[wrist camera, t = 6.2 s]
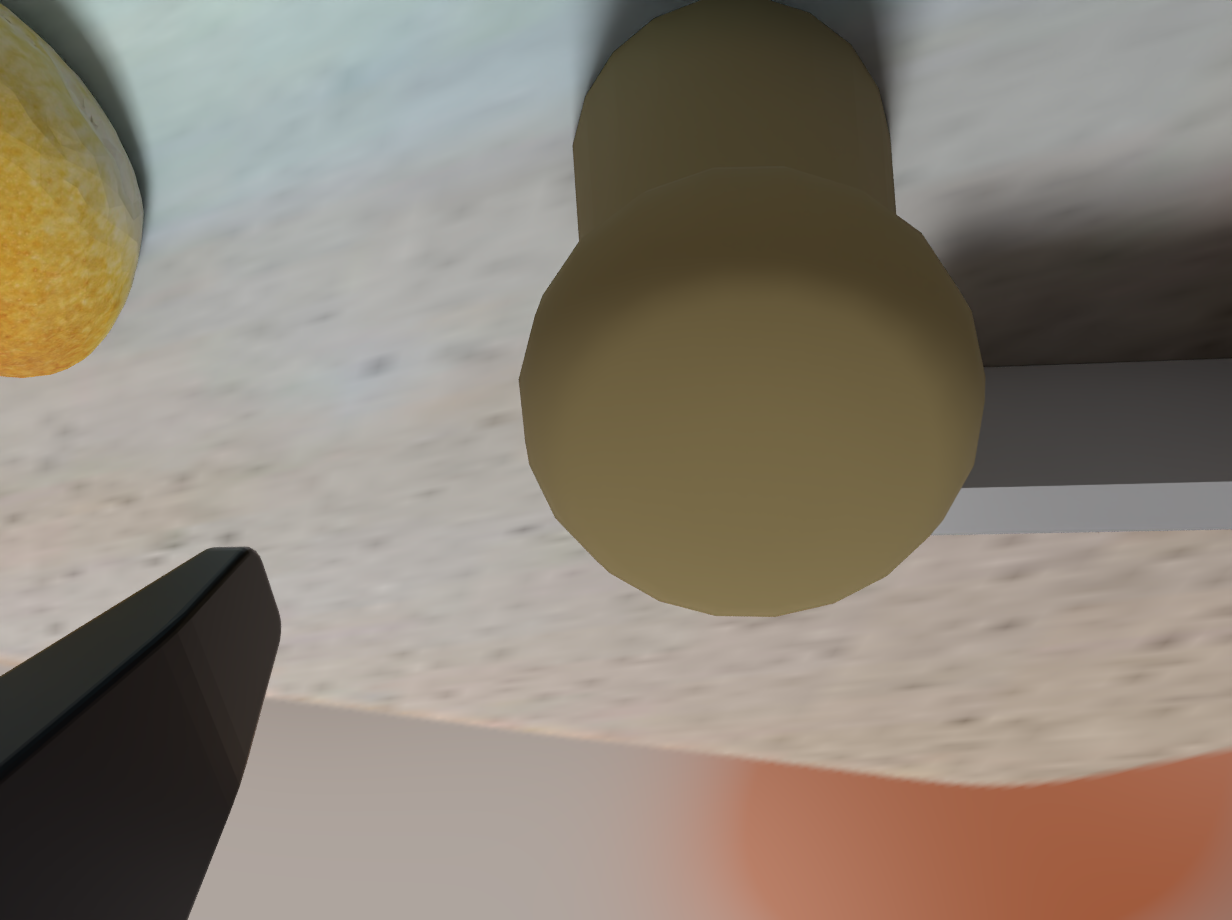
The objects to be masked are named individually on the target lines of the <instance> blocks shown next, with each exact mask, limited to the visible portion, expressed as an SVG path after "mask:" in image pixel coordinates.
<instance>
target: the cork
mask: <svg viewBox="0 0 1232 920" xmlns="http://www.w3.org/2000/svg"><path fill="white" fill-rule="evenodd" d="M573 157H574V172H575V188H576V203H577V217H578V232H579V242H578V244H577V245H576V247H575V248H574V250H573V251H572V253H571V254H570V256H569V257H568V259H567V260H566V262H565V263H564V265H563V266H562V268H561V269H560V271H559V272H558V273H557V275H556V276H555V278H554V279H553V281H552V282H551V284H550V285H549V287H548V288H547V290H546V291H545V293H544V294H543V296H542V299H541V301H540V304H539V307H538V309H537V312H536V314H535V318H534V322H533V325H532V329H531V333H530V337H529V341H528V345H527V349H526V353H525V357H524V361H523V365H522V369H521V372H520V376H519V387H520V396H521V406H522V415H523V425H524V434H525V443H526V448H527V454H528V460H529V465H530V467H531V469H532V471H533V473H534V475H535V477H536V479H537V481H538V483H539V485H540V488H541V490H542V492H543V494H544V496H545V498H546V500H547V502H548V504H549V506H550V508H551V510H552V512H553V514H554V516H555V518H556V519H557V520H558V521H559V522H560V523H561V524H562V525H563V527H564V528H565V529H566V530H567V531H568V532H569V533H570V534H571V535H572V536H573V537H574V538H575V539H576V540H577V541H578V542H579V543H580V544H581V545H582V546H583V547H584V548H585V549H586V550H587V551H588V552H589V553H590V554H591V555H592V556H593V558H594V559H595V560H596V561H597V562H598V563H600V564H601V565H602V566H603V567H604V568H605V569H606V570H607V571H608V572H609V573H611V574H612V575H614V576H616V577H618V578H619V579H621V580H623V581H625V582H626V583H628V584H630V585H632V586H634V587H635V588H637V589H639V590H641V591H642V592H644V593H646V594H648V595H649V596H651V597H653V598H655V599H656V600H658V601H661V602H665V603H669V604H672V605H676V606H680V607H684V608H688V609H691V610H695V611H699V612H703V613H707V614H710V615H714V616H758V617H776V616H781V615H785V614H789V613H794V612H798V611H802V610H807V609H811V608H816V607H820V606H824V605H829V604H833V603H835V602H837V601H839V600H841V599H843V598H845V597H847V596H849V595H851V594H853V593H855V592H857V591H859V590H861V589H863V588H864V587H866V586H868V585H870V584H872V583H874V582H876V581H878V580H880V579H882V578H884V577H886V576H887V575H888V574H889V573H891V572H892V571H893V570H894V569H895V568H896V567H897V566H898V565H899V564H900V563H901V562H902V561H903V560H904V559H906V558H907V557H908V556H909V555H910V554H911V553H912V552H913V551H914V550H915V549H916V548H917V547H918V546H919V545H921V544H922V543H923V542H924V541H925V540H926V539H927V538H928V537H929V536H930V535H931V534H932V533H933V532H934V530H935V529H936V528H937V527H938V526H939V525H940V523H941V522H942V521H943V520H944V518H945V516H946V514H947V513H948V511H949V509H950V507H951V506H952V504H953V502H954V500H955V498H956V497H957V495H958V493H959V491H960V490H961V488H962V486H963V484H964V482H965V481H966V479H967V477H968V475H969V474H970V472H971V470H972V468H973V466H974V463H975V457H976V451H977V445H978V439H979V433H980V427H981V421H982V415H983V409H984V403H985V372H984V368H983V363H982V358H981V353H980V348H979V344H978V339H977V334H976V329H975V325H974V320H973V315H972V311H971V309H970V308H969V306H968V304H967V303H966V301H965V299H964V297H963V296H962V294H961V292H960V291H959V289H958V288H957V286H956V285H955V283H954V282H953V280H952V279H951V277H950V275H949V274H948V272H947V271H946V269H945V268H944V266H943V265H942V263H941V262H940V260H939V259H938V257H937V256H936V254H935V253H934V251H933V250H932V248H931V247H930V245H929V244H928V242H927V241H926V239H925V238H924V236H923V235H922V233H921V232H919V231H918V230H917V229H915V228H914V227H912V226H911V225H910V224H908V223H907V222H906V221H904V220H903V219H902V218H900V217H899V216H897V215H896V206H895V192H894V179H893V166H892V153H891V140H890V135H889V130H888V126H887V122H886V117H885V113H884V109H883V104H882V100H881V96H880V91H879V88H878V86H877V85H876V83H875V82H874V80H873V78H872V77H871V75H870V74H869V72H868V71H867V69H866V67H865V66H864V64H863V63H862V61H861V60H860V58H859V56H858V55H857V53H856V52H855V50H854V49H853V47H852V45H851V44H849V43H848V42H847V41H845V40H844V39H843V38H842V37H840V36H839V35H838V34H836V33H835V32H834V31H833V30H831V29H830V28H829V27H827V26H826V25H825V24H823V23H822V22H821V21H820V20H818V19H817V18H816V17H814V16H813V15H812V14H810V13H809V12H805V11H802V10H799V9H796V8H793V7H790V6H786V5H783V4H780V3H777V2H774V1H771V0H700V1H697V2H695V3H692V4H690V5H687V6H684V7H682V8H679V9H677V10H674V11H672V12H669V13H666V14H664V15H661V16H659V17H656V18H654V19H653V20H651V21H650V22H649V23H648V24H647V25H645V26H644V27H643V28H642V29H641V30H639V31H638V32H637V33H636V34H635V35H633V36H632V37H631V38H630V39H629V40H627V41H626V42H625V43H624V44H623V45H621V46H620V47H619V48H618V49H617V50H615V51H614V52H613V53H612V55H611V56H610V58H609V60H608V61H607V63H606V64H605V66H604V68H603V69H602V71H601V72H600V74H599V76H598V77H597V79H596V80H595V82H594V83H593V85H592V87H591V88H590V90H589V91H588V93H587V95H586V96H585V99H584V103H583V107H582V111H581V115H580V119H579V123H578V127H577V131H576V135H575V139H574V143H573Z"/></svg>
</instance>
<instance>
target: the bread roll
mask: <svg viewBox="0 0 1232 920" xmlns="http://www.w3.org/2000/svg"><path fill="white" fill-rule="evenodd" d="M143 215H144V212H143V205H142V198H141V194H140V191H139V188H138V184H137V180H136V176H135V172H134V170H133V167H132V165H131V162H130V160H129V158H128V156H127V154H126V152H125V150H124V148H123V146H122V144H121V142H120V140H119V138H118V135H117V133H116V131H115V129H114V128H113V126H112V124H111V123H110V121H109V120H108V118H107V116H106V115H105V113H104V112H103V110H102V108H101V107H100V105H99V104H98V102H97V101H96V100H95V98H94V97H93V95H92V94H91V93H90V91H89V90H88V89H87V87H86V86H85V84H84V83H83V82H82V80H81V79H80V78H79V76H78V75H77V74H76V73H75V72H74V71H73V70H72V69H71V68H70V67H69V66H68V65H67V64H66V63H65V62H64V61H63V60H62V59H61V57H60V56H59V55H58V54H57V53H56V52H55V51H54V50H53V48H52V47H51V46H50V45H49V44H47V43H46V42H45V41H44V40H43V39H42V38H41V37H40V36H39V35H37V34H36V33H35V32H34V31H33V30H32V29H31V28H30V27H28V26H27V25H26V24H25V23H24V22H23V21H22V20H20V19H19V18H18V17H17V16H16V15H15V14H14V13H12V12H11V11H10V10H9V9H8V8H7V7H5V6H4V5H2V4H1V3H0V376H5V377H19V378H25V377H34V376H43V375H51V374H54V373H57V372H60V371H62V370H65V369H68V368H69V367H71V366H73V365H75V364H76V363H78V362H80V361H82V360H83V359H85V358H86V357H87V356H88V355H89V354H91V353H92V351H93V350H94V349H95V348H96V347H97V346H98V345H99V344H100V343H101V341H102V340H103V339H104V338H105V337H106V336H107V334H108V333H109V331H110V330H111V328H112V326H113V325H114V323H115V321H116V319H117V318H118V316H119V314H120V312H121V310H122V308H123V306H124V304H125V302H126V300H127V297H128V295H129V292H130V290H131V287H132V283H133V279H134V274H135V271H136V267H137V263H138V257H139V251H140V246H141V239H142V228H143Z"/></svg>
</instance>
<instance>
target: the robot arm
mask: <svg viewBox="0 0 1232 920" xmlns="http://www.w3.org/2000/svg"><path fill="white" fill-rule="evenodd" d="M280 636H281V620H280V615H279V611H278V608H277V605H276V602H275V599H274V596H273V593H272V590H271V587H270V584H269V581H268V578H267V575H266V572H265V569H264V566H263V563H262V560H261V558H260V556H259V555H258V553H257V552H256V551H255V550H253V549H252V548H250V547H214V548H209V549H206V550H204V551H203V552H201V553H199V554H198V555H196V556H194V557H193V558H191V559H190V560H188V561H186V562H185V563H183V564H182V565H180V566H178V567H177V568H175V569H173V570H172V571H170V572H169V573H167V574H165V575H164V576H162V577H160V578H159V579H157V580H156V581H154V582H152V583H151V584H149V585H148V586H146V587H144V588H143V589H141V590H139V591H138V592H136V593H135V594H133V595H131V596H130V597H128V598H126V599H125V600H123V601H122V602H120V603H118V604H117V605H115V606H113V607H112V608H110V609H109V610H107V611H105V612H104V613H102V614H101V615H99V616H97V617H96V618H94V619H92V620H91V621H89V622H88V623H86V624H84V625H83V626H81V627H79V628H78V629H76V630H75V631H73V632H71V633H70V634H68V635H67V636H65V637H63V638H62V639H60V640H58V641H57V642H55V643H54V644H52V645H50V646H49V647H47V648H45V649H44V650H42V651H41V652H39V653H37V654H36V655H34V656H33V657H31V658H29V659H28V660H26V661H24V662H23V663H21V664H20V665H18V666H16V667H15V668H13V669H11V670H10V671H8V672H7V673H5V674H3V675H2V676H0V920H188V917H189V914H190V912H191V909H192V907H193V904H194V901H195V899H196V897H197V894H198V892H199V889H200V887H201V884H202V882H203V879H204V877H205V874H206V872H207V869H208V866H209V864H210V861H211V859H212V856H213V854H214V851H215V849H216V846H217V844H218V841H219V839H220V836H221V834H222V831H223V829H224V826H225V824H226V821H227V819H228V816H229V814H230V811H231V808H232V805H233V803H234V800H235V797H236V795H237V792H238V789H239V787H240V783H241V780H242V777H243V773H244V770H245V767H246V764H247V760H248V757H249V753H250V749H251V745H252V742H253V738H254V735H255V731H256V727H257V723H258V720H259V716H260V712H261V709H262V705H263V701H264V698H265V694H266V690H267V687H268V683H269V679H270V676H271V672H272V668H273V665H274V661H275V657H276V654H277V650H278V646H279V642H280Z"/></svg>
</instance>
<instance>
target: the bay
mask: <svg viewBox="0 0 1232 920" xmlns="http://www.w3.org/2000/svg"><path fill="white" fill-rule="evenodd" d="M983 368H984V372H985V403H984V409H983V415H982V421H981V427H980V433H979V439H978V445H977V451H976V457H975V463H974V466H973V468H972V470H971V472H970V474H969V475H968V477H967V479H966V481H965V482H964V484H963V486H962V488H961V490H960V491H959V493H958V495H957V497H956V498H955V500H954V502H953V504H952V506H951V507H950V509H949V511H948V513H947V514H946V516H945V518H944V520H943V521H942V522H941V523H940V525H939V526H938V527H937V528H936V529H935V530H934V532H933V533H932V534H931V535H970V534H1020V533H1069V532H1119V531H1168V530H1218V529H1232V358H1228V359H1200V360H1173V361H1146V362H1118V363H1091V364H1064V365H1036V366H1009V367H983Z"/></svg>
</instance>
